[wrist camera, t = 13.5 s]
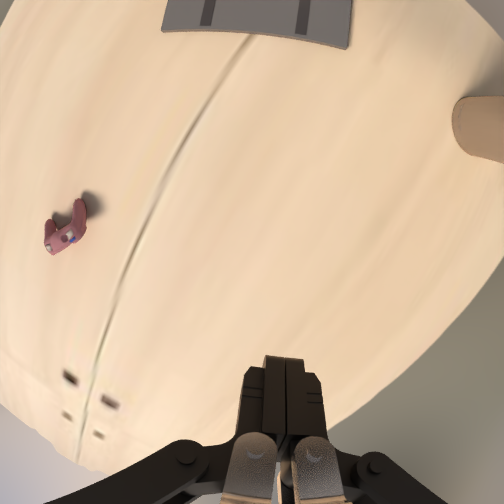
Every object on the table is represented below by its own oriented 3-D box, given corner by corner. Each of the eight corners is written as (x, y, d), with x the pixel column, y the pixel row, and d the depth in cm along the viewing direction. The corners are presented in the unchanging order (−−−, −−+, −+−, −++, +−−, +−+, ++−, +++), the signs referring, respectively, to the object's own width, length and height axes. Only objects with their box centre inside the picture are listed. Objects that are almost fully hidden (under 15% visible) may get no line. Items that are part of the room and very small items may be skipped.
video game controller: (62, 234, 43) (50, 264, 39) (46, 218, 40) (31, 248, 35) (98, 213, 41) (86, 244, 37) (80, 193, 38) (65, 224, 33)
